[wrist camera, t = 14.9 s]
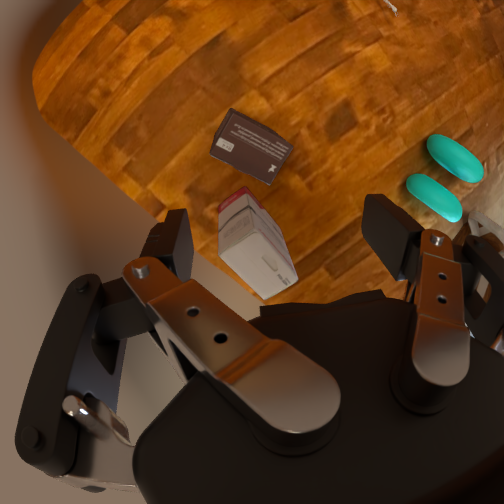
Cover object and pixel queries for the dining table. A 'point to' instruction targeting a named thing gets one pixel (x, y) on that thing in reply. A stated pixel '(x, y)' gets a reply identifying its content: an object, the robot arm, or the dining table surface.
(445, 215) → the turquoise yo-yo
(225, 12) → the dining table surface
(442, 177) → the dining table surface
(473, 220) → the mug
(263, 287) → the ink box
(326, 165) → the dining table surface
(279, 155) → the box
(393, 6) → the white dragon
